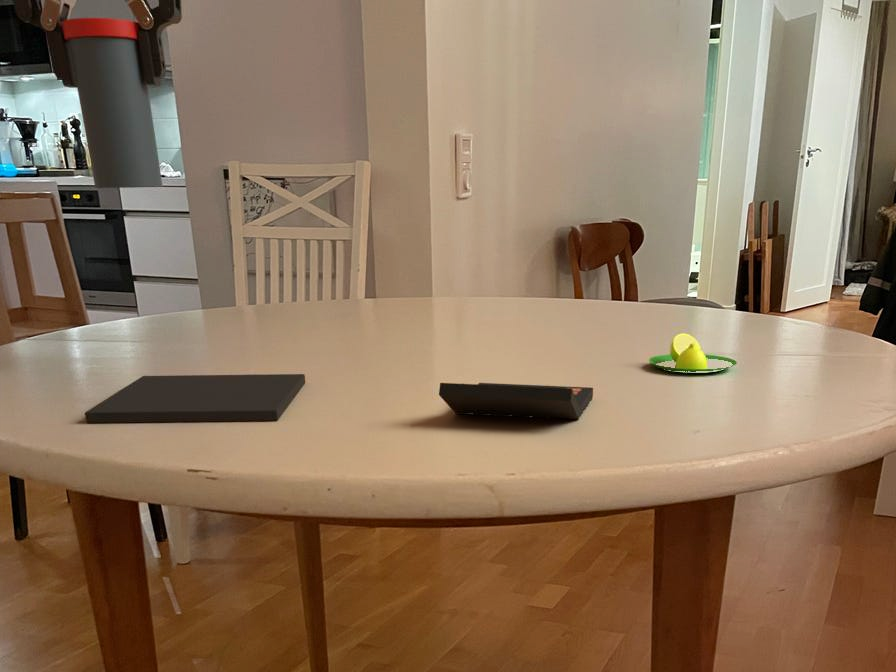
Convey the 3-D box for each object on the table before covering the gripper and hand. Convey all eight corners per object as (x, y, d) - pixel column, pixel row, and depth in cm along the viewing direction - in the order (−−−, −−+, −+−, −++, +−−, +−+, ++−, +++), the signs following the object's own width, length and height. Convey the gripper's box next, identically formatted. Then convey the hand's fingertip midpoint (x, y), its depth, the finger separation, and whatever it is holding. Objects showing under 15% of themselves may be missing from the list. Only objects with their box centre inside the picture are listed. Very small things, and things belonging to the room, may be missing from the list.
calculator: (592, 398, 74) (594, 360, 72) (569, 433, 63) (571, 389, 62) (479, 393, 76) (479, 355, 74) (439, 426, 66) (438, 383, 64)
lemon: (631, 364, 87) (633, 333, 86) (701, 358, 90) (704, 327, 88) (681, 379, 80) (684, 345, 79) (754, 371, 83) (758, 339, 82)
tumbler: (81, 188, 77) (49, 18, 72) (104, 187, 83) (77, 29, 77) (155, 187, 78) (129, 17, 72) (174, 186, 83) (151, 28, 78)
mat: (86, 423, 67) (83, 412, 67) (144, 385, 80) (142, 375, 79) (278, 421, 67) (276, 410, 67) (305, 383, 80) (304, 373, 80)
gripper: (177, -157, 73) (209, 89, 80) (-7, -156, 72) (42, 91, 80) (151, -191, 66) (188, 81, 74) (-52, -190, 66) (6, 83, 73)
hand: (112, 85), depth 77 cm, fingers closed on tumbler, 6 cm apart
